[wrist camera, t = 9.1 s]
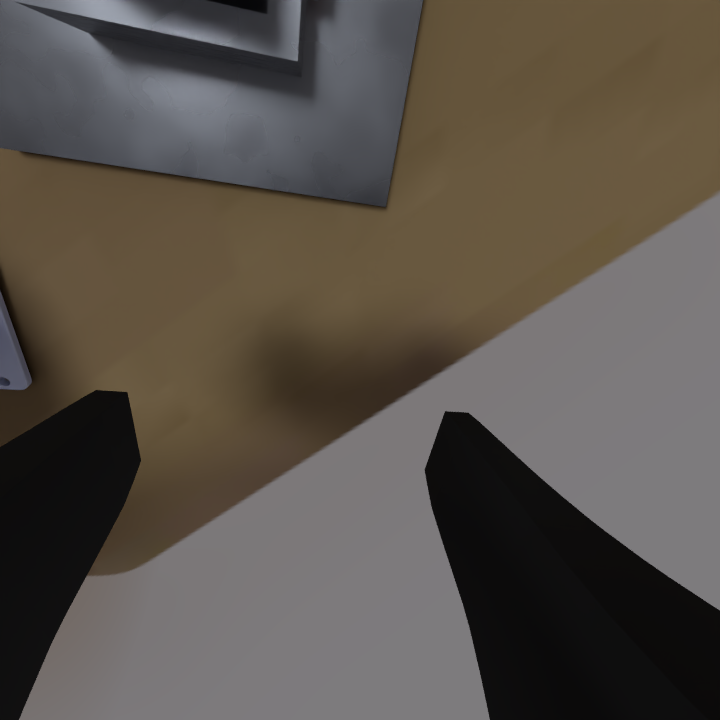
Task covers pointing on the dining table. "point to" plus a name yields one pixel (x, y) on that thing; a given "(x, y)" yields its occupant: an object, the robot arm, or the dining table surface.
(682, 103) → the dining table surface
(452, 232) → the dining table surface
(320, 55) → the stand base
